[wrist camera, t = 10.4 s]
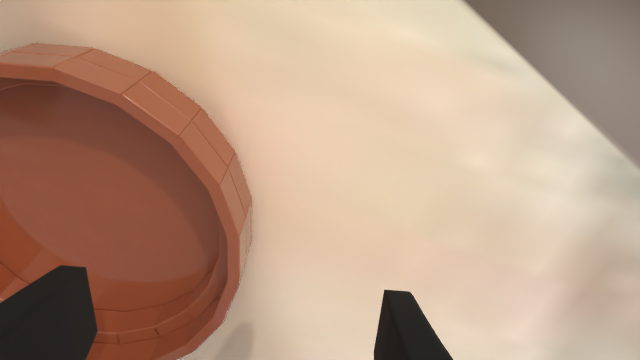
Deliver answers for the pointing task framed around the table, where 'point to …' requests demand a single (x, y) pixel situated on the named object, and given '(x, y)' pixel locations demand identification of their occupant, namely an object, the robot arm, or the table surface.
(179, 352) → the bowl
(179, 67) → the table surface
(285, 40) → the table surface
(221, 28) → the table surface
